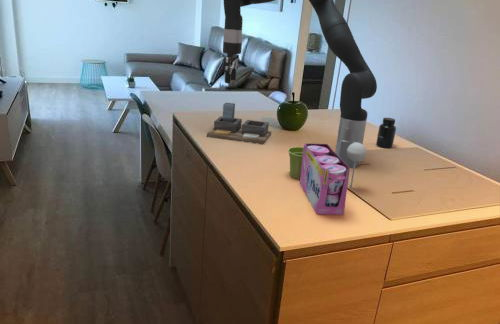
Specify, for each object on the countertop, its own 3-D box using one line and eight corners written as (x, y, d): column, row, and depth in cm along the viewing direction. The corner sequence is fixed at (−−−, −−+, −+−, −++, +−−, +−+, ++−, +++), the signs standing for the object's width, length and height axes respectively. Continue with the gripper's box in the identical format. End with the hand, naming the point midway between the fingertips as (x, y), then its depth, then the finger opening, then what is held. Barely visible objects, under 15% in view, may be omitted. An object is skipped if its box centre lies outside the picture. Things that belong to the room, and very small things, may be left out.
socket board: (263, 144, 180) (265, 131, 178) (206, 136, 184) (207, 123, 182) (271, 134, 194) (272, 122, 192) (218, 127, 199) (218, 115, 197)
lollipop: (347, 182, 146) (353, 139, 141) (363, 188, 143) (371, 143, 138) (337, 187, 142) (344, 142, 137) (354, 193, 138) (362, 147, 133)
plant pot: (315, 173, 153) (318, 149, 150) (311, 183, 144) (314, 157, 141) (288, 169, 155) (290, 145, 152) (282, 178, 146) (285, 153, 143)
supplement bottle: (374, 146, 188) (379, 118, 184) (377, 142, 194) (382, 115, 190) (390, 149, 186) (396, 121, 181) (393, 145, 191) (399, 118, 187)
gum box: (345, 217, 122) (353, 171, 118) (317, 217, 121) (324, 170, 117) (322, 183, 145) (328, 143, 140) (298, 183, 143) (303, 142, 139)
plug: (231, 130, 190) (232, 105, 186) (222, 129, 190) (223, 104, 187) (233, 128, 193) (235, 103, 190) (224, 127, 194) (225, 102, 190)
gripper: (237, 43, 172) (234, 85, 178) (245, 40, 185) (243, 80, 191) (218, 41, 174) (216, 83, 179) (228, 39, 187) (226, 78, 192)
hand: (230, 81), depth 185 cm, fingers open, 8 cm apart
